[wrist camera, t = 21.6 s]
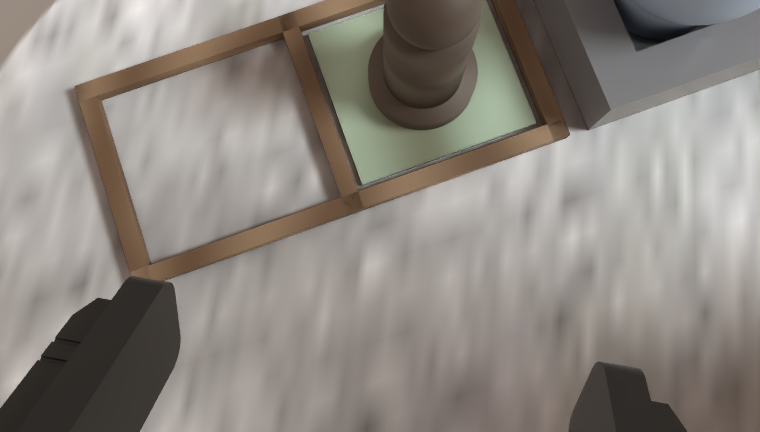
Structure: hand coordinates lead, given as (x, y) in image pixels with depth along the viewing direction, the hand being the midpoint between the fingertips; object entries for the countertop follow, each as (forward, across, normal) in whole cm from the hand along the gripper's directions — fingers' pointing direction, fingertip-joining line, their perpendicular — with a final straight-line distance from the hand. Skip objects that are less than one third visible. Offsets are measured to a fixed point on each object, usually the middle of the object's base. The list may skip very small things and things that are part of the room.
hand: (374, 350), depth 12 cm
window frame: (+18, +5, +5) cm, 19 cm away
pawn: (+20, 0, +3) cm, 20 cm away
